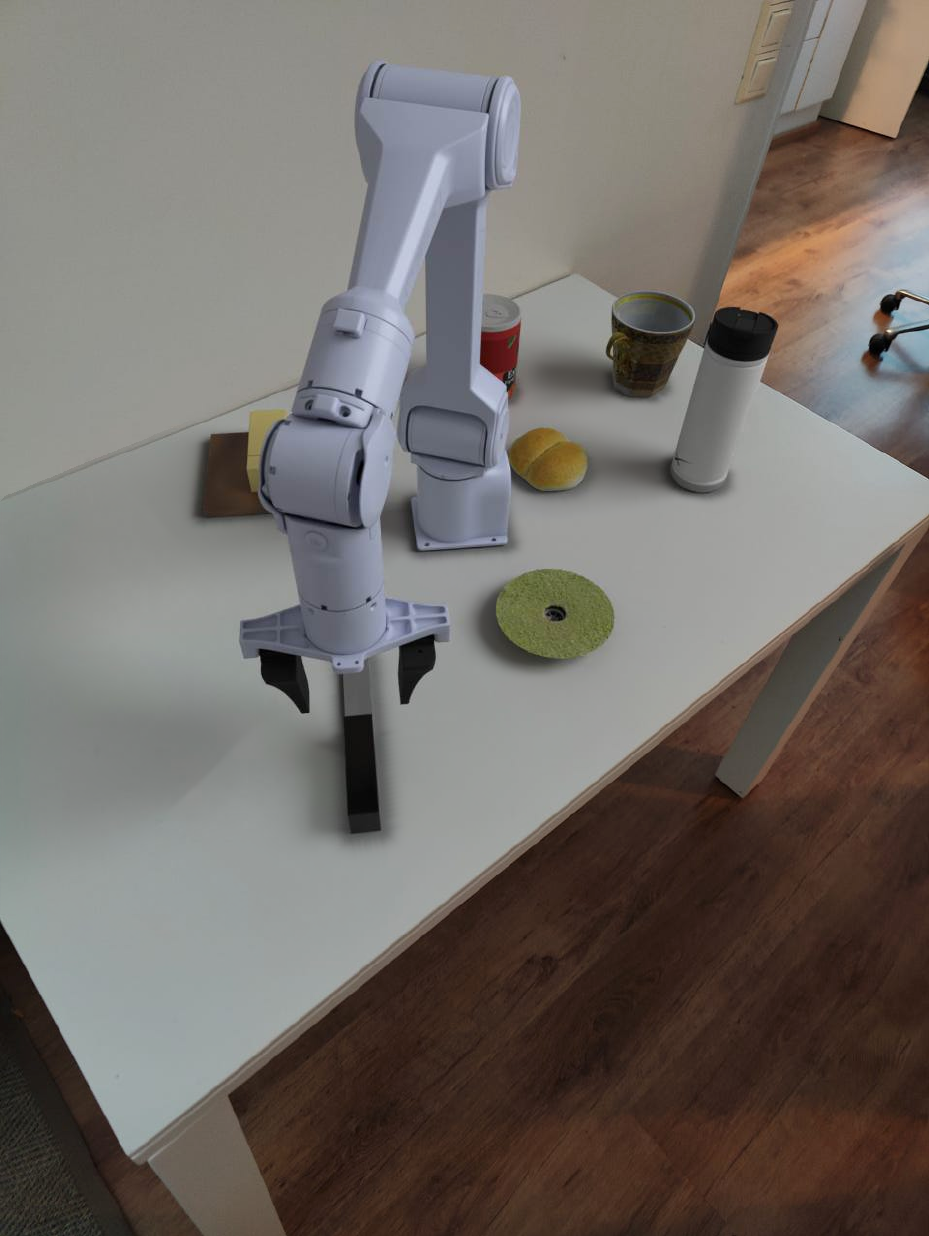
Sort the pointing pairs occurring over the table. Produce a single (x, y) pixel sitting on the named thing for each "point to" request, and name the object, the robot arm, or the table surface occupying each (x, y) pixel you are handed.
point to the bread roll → (548, 460)
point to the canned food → (500, 338)
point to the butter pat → (253, 472)
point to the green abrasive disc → (555, 613)
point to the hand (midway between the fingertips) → (354, 698)
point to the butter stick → (261, 428)
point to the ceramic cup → (647, 340)
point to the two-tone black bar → (360, 753)
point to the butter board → (229, 478)
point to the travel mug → (722, 397)
